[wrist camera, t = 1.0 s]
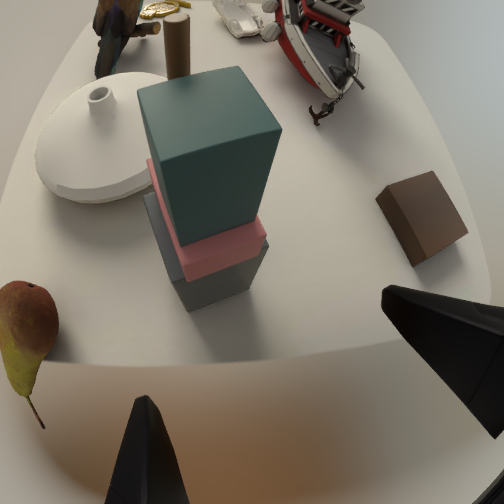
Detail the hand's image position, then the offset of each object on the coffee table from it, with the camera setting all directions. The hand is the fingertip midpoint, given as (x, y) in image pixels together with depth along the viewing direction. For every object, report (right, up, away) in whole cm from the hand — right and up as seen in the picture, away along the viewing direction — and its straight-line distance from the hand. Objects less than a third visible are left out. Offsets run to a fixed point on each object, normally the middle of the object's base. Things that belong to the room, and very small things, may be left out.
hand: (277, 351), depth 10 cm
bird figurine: (-18, +31, +23) cm, 43 cm away
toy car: (-3, +39, +24) cm, 46 cm away
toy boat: (+6, +30, +25) cm, 39 cm away
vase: (-14, +14, +17) cm, 26 cm away
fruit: (-16, +1, +8) cm, 18 cm away
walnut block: (+16, +6, +18) cm, 25 cm away
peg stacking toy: (-3, +5, +5) cm, 8 cm away
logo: (-13, +47, +29) cm, 57 cm away
